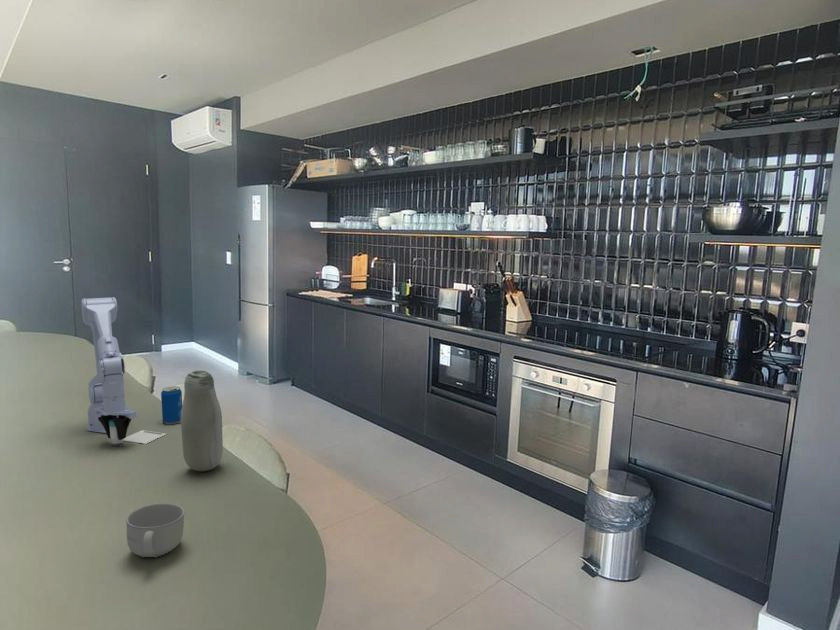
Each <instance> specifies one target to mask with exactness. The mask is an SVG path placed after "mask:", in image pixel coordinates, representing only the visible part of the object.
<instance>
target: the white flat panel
mask: <svg viewBox="0 0 840 630" xmlns="http://www.w3.org/2000/svg"><path fill="white" fill-rule="evenodd" d="M166 434H167V433H165V432H158V431H150V430H144V429H142V430H140V431H137V432H135V433H133V434H131V435H128V436H126V438H124V441H123V442H127V443H134V444H139V443H142V444H141V445H147V443H148V444H150V443H152V442H154V441H156V440H158V439H157V438H159V439H161V438H163V437H165V436H167V435H166ZM164 435H165V436H164ZM162 436H163V437H162ZM160 437H161V438H160ZM155 439H156V440H155ZM153 440H154V441H153ZM151 441H152V442H151ZM149 442H150V443H149Z"/></svg>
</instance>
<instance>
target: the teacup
mask: <svg viewBox="0 0 840 630" xmlns="http://www.w3.org/2000/svg"><path fill="white" fill-rule="evenodd" d="M184 516H185V509H184V507H183V506H181V505H179V504H176V503H171V502H170V503H169V502H157V503H150V504H147V505H146V504H145V505H143V506H141V507H138V508H136V509H134V510H132V511H131V512H129V514H127V516H126V518H125V523H126V541H127V546H128V549H129V550H130V551H131V552H132V553H133V554H135V555H137V556H139V557H141V558H144V557H155V556H160V555H163V554H165V553H167V552H169V551H170V552H171V551H173V550H174V549H175V548H176V547H177V546H178V545H179V544H180V542H181V541H182V538H183V535H184V527H185V525H184V524H185V522H184V521H185V520H184V519H185V517H184ZM170 552H169V553H170ZM167 554H168V553H167ZM165 555H166V554H165ZM163 556H164V555H163ZM160 557H161V556H160ZM155 558H156V557H155Z"/></svg>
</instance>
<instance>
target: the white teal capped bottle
mask: <svg viewBox="0 0 840 630" xmlns="http://www.w3.org/2000/svg"><path fill="white" fill-rule="evenodd" d="M114 419H115V418H114ZM109 426H110V438H109V439H110V444H111V446H112V447H115V448H116V447H121V446H122V445H124V444H123V442H125V441H124V439H122V440H119V439H118V436H117V429H116V426H115V424H114V422H113V419H111V420H109Z"/></svg>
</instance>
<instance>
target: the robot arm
mask: <svg viewBox="0 0 840 630" xmlns="http://www.w3.org/2000/svg"><path fill="white" fill-rule="evenodd" d="M80 309H81V310H80V311H81V315H82V321H83V324H84V325H87V326H89V327H90V329H91V332H92V338H93V348H94V357H95V358H94V359H95V365H96V375H95V376H93V377H92V378H91V379H90V380H89V382H88V399H89V403H90V405H89V407H88V409H87V421H88V428H86V431H89V432H96V433H102V434H106V436H107V438H108V439H110V426H109V420H111V419H113V422H114V424H115V426H116V429H117V436H118V439H119V440H122V439H124V438H126V437H127V433H128V428H129V425H130V423H131V421H132V419H134V418H137V411H136V410H133V409H131V408H128V407H126V399H125V384H124V383H125V382H124V375H125V371H126V366H125V365H126V364H125V360H124V356H123V355H122V354H123V353H121V351H120V347H119V346H120V345H119V341H118V339H117V337H115V336H113V328H112V324H113V323H114V322H116V319H117V314H118V302H117V299H116V297H114V296H111V297H95V298H93V297H91V298H85V297H84V298H82V299H81V301H80ZM114 418H115V419H114Z"/></svg>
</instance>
